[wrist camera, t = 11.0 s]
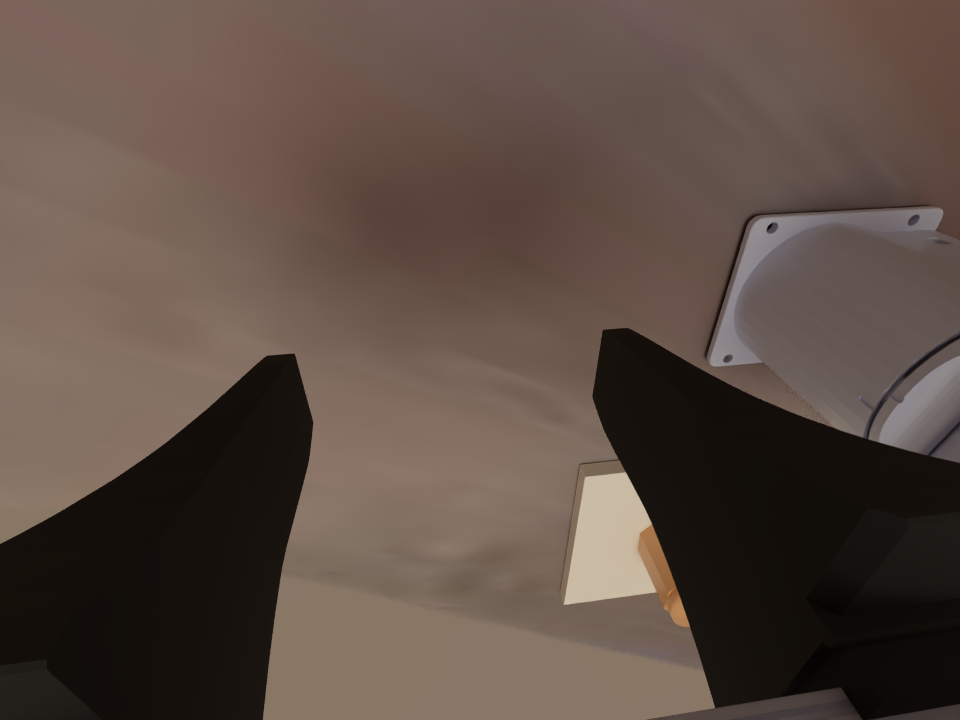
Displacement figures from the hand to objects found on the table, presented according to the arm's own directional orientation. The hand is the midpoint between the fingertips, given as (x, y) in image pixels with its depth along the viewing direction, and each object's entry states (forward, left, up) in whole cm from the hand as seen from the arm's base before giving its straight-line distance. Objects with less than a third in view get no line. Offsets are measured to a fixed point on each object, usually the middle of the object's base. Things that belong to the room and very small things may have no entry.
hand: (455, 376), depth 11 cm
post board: (-15, +22, -10) cm, 29 cm away
